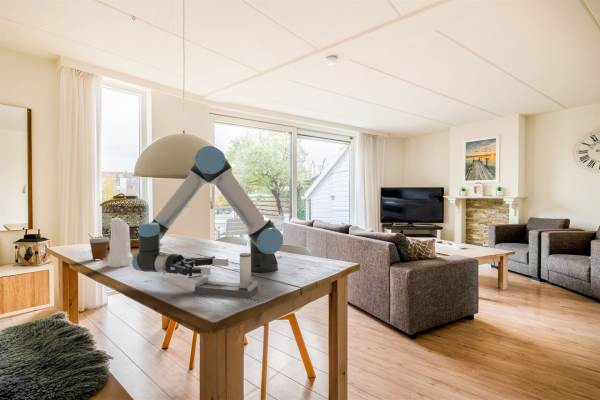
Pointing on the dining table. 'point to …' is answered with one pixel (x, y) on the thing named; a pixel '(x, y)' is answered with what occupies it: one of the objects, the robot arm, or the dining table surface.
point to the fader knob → (245, 270)
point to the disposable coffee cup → (99, 247)
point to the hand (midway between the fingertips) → (219, 266)
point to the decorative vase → (119, 244)
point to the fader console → (225, 288)
